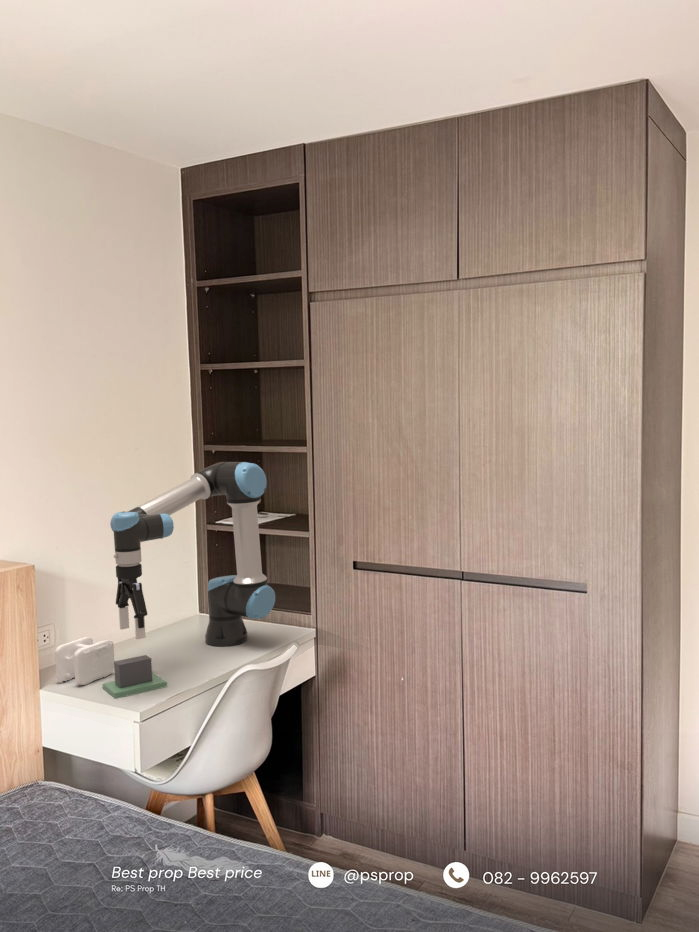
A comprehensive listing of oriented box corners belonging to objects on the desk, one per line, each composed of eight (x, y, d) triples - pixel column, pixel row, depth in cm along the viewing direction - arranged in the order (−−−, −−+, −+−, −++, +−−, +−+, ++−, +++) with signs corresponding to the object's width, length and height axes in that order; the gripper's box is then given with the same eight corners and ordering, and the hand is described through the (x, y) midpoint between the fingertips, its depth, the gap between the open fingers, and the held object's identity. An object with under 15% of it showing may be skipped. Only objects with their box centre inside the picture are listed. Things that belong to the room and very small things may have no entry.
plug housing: (146, 677, 260) (145, 654, 259) (152, 680, 256) (151, 658, 256) (115, 684, 254) (113, 661, 254) (120, 688, 251) (119, 665, 250)
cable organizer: (93, 669, 274) (91, 634, 273) (116, 673, 269) (114, 638, 268) (56, 683, 262) (54, 647, 261) (80, 688, 256) (78, 651, 255)
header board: (153, 677, 265) (152, 660, 264) (166, 686, 256) (165, 668, 255) (102, 688, 256) (101, 670, 255) (115, 698, 247) (114, 680, 246)
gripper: (102, 559, 261) (106, 626, 263) (131, 572, 240) (135, 645, 242) (126, 556, 265) (130, 622, 267) (156, 568, 245) (160, 640, 246)
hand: (132, 633), depth 254 cm, fingers open, 13 cm apart
